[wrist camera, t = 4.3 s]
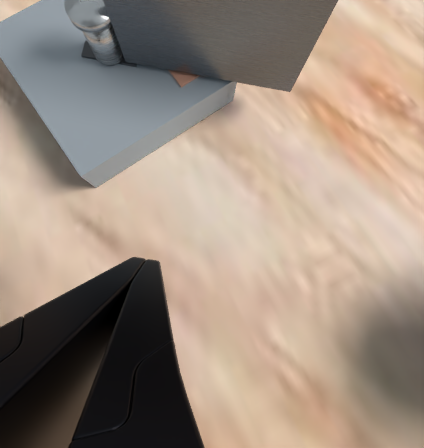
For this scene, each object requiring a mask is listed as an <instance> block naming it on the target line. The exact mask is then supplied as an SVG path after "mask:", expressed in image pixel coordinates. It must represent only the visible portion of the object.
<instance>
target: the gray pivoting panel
mask: <svg viewBox="0 0 424 448" xmlns="http://www.w3.org/2000/svg"><path fill="white" fill-rule="evenodd" d="M337 2H338V0H65V1H64V7H65V11H66V13H67V15H68V17H69V19H70V21H71V22H72V24H73V25H74V26H75V27H76V28H77V29H79V30H81V31H82V32H83V34H84V36H85V38H86V40H87V42H88V44H89V46H90V48H91V50H92V52H93V54H94V56H95V57H96V59H97V60H98V61H99V62H100V63H102V64H104V65H115V64H117V63H119V62H120V61H121V60H122V59H123V58H124V59H125V61H126V62H130V63H135V64H140V65H146V66H151V67H157V68H162V69H168V70H173V71H179V72H184V73H189V74H195V75H200V76H206V77H211V78H217V79H222V80H228V81H233V82H239V83H244V84H249V85H255V86H260V87H266V88H271V89H277V90H282V91H288V92H290V91H291V89H292V87H293V86H294V84H295V82H296V80H297V78H298V76H299V74H300V72H301V70H302V68H303V66H304V65H305V63H306V61H307V59H308V57H309V55H310V53H311V51H312V49H313V47H314V45H315V44H316V42H317V40H318V38H319V36H320V34H321V32H322V30H323V28H324V26H325V24H326V23H327V21H328V19H329V17H330V15H331V13H332V11H333V9H334V7H335V5H336V3H337Z"/></svg>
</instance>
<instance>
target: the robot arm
mask: <svg viewBox="0 0 424 448" xmlns="http://www.w3.org/2000/svg"><path fill="white" fill-rule="evenodd" d="M0 448H204V445H203V442H202V439H201V436H200V433H199V430H198V427H197V424H196V421H195V418H194V415H193V412H192V409H191V406H190V403H189V400H188V397H187V394H186V390H185V387H184V384H183V380H182V377H181V373H180V369H179V364H178V360H177V355H176V350H175V344H174V341H173V334H172V329H171V323H170V317H169V311H168V306H167V300H166V294H165V289H164V283H163V277H162V271H161V266H160V262H159V261H156V260H150V259H148V260H145V259H144V258H138V257H132V258H130V259H128V260H126V261H124V262H122V263H121V264H119V265H117V266H115V267H113V268H111V269H109V270H108V271H106V272H104V273H102V274H100V275H98V276H96V277H94V278H93V279H91V280H89V281H87V282H85V283H83V284H81V285H79V286H78V287H76V288H74V289H72V290H70V291H68V292H66V293H65V294H63V295H61V296H59V297H57V298H55V299H53V300H51V301H50V302H48V303H46V304H44V305H42V306H40V307H38V308H37V309H35V310H33V311H31V312H29V313H27V314H25V315H24V318H23V317H19V318H17V319H15V320H13V321H11V322H9V323H7V324H6V325H4V326H2V327H0Z"/></svg>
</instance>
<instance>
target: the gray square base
mask: <svg viewBox="0 0 424 448" xmlns="http://www.w3.org/2000/svg"><path fill="white" fill-rule="evenodd" d="M64 1H65V0H41V1H39V2H37V3H35V4H33V5H31V6H29V7H28V8H26V9H24V10H22V11H20V12H18V13H16V14H14V15H13V16H11V17H9V18H7V19H5V20H3V21H1V22H0V58H1V59H2V61H3V62H4V64H5V65H6V67H7V68H8V70H9V71H10V72H11V74H12V75H13V77H14V78H15V80H16V81H17V83H18V84H19V86H20V87H21V89H22V90H23V92H24V93H25V95H26V96H27V98H28V99H29V101H30V102H31V104H32V105H33V107H34V108H35V110H36V111H37V113H38V114H39V116H40V117H41V119H42V120H43V122H44V123H45V125H46V126H47V128H48V129H49V130H50V132H51V133H52V135H53V136H54V138H55V139H56V141H57V142H58V144H59V145H60V147H61V148H62V150H63V151H64V153H65V154H66V156H67V157H68V159H69V160H70V162H71V163H72V165H73V166H74V168H75V169H76V171H77V172H78V174H79V175H80V177H82V178H83V179H84V180H86V181H87V182H89V183H90V184H91V185H93V186H94V187H95V188H97V187H98V186H100V185H101V184H103V183H105V182H106V181H108V180H109V179H111V178H112V177H114V176H115V175H117V174H119V173H120V172H122V171H123V170H125V169H126V168H128V167H130V166H131V165H133V164H134V163H136V162H137V161H139V160H141V159H142V158H144V157H145V156H147V155H148V154H150V153H151V152H153V151H155V150H156V149H158V148H159V147H161V146H162V145H164V144H166V143H167V142H169V141H170V140H172V139H173V138H175V137H176V136H178V135H180V134H181V133H183V132H184V131H186V130H187V129H189V128H191V127H192V126H194V125H195V124H197V123H198V122H200V121H202V120H203V119H205V118H206V117H208V116H209V115H211V114H212V113H214V112H216V111H217V110H219V109H220V108H222V107H223V106H225V105H227V104H228V103H230V102H231V101H233V98H234V93H235V88H236V83H237V82H233V81H228V80H222V79H217V78H211V77H206V76H200V75H195V74H189V73H184V72H179V71H173V70H168V69H162V68H157V67H151V66H146V65H140V64H135V63H130V62H126V61H125V59H124V58H123V59H122V60H121V61H120V62H119V63H117V64H115V65H104V64H102V63H100V62H99V61H98V60H97V59H96V57H95V56H94V54H93V52H92V50H91V48H90V46H89V44H88V42H87V40H86V38H85V36H84V34H83V32H82V31H81V30H79V29H77V28H76V27H75V26H74V25H73V24H72V22H71V21H70V19H69V17H68V15H67V13H66V11H65V7H64Z"/></svg>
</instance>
